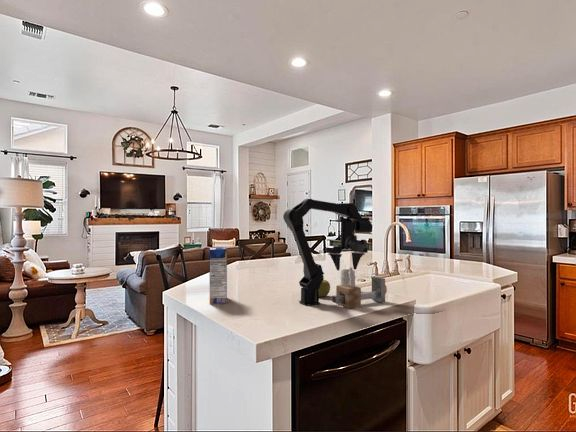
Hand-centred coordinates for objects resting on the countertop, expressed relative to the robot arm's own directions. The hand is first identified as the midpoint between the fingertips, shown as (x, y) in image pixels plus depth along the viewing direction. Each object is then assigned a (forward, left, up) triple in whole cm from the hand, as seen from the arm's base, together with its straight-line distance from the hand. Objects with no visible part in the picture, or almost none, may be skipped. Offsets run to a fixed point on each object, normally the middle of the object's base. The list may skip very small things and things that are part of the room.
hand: (346, 269), depth 151 cm
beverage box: (-49, +23, -13) cm, 56 cm away
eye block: (-5, -8, -13) cm, 16 cm away
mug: (+11, +14, -13) cm, 22 cm away
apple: (-6, +11, -13) cm, 18 cm away
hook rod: (0, -8, -12) cm, 15 cm away
